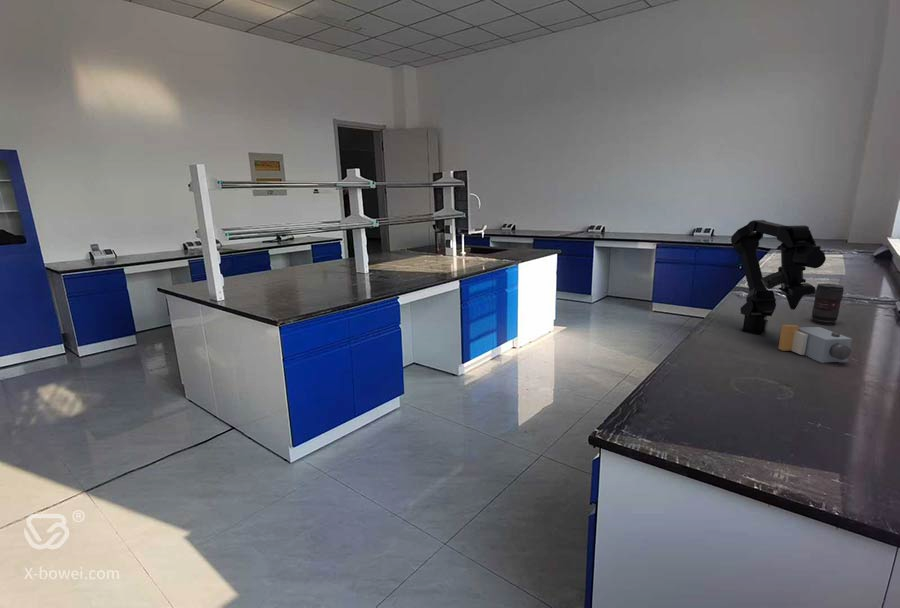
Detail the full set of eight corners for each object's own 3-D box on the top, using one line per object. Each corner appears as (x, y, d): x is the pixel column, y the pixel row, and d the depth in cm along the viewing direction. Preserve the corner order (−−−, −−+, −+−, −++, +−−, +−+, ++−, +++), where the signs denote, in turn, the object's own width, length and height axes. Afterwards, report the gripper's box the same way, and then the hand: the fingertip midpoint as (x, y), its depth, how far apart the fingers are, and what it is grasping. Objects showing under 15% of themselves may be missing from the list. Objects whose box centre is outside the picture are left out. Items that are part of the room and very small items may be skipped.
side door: (778, 348, 149) (782, 324, 147) (790, 348, 149) (794, 324, 147) (791, 355, 143) (796, 330, 141) (804, 354, 143) (808, 330, 141)
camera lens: (841, 326, 172) (849, 287, 168) (817, 325, 173) (824, 287, 170) (829, 320, 179) (836, 283, 176) (806, 319, 181) (812, 282, 177)
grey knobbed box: (791, 349, 149) (795, 325, 147) (815, 348, 149) (820, 324, 147) (827, 365, 135) (832, 339, 133) (854, 365, 135) (859, 338, 133)
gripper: (754, 262, 160) (755, 304, 164) (774, 272, 143) (775, 319, 147) (791, 257, 157) (792, 301, 160) (816, 267, 140) (816, 316, 143)
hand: (792, 309), depth 153 cm, fingers closed
